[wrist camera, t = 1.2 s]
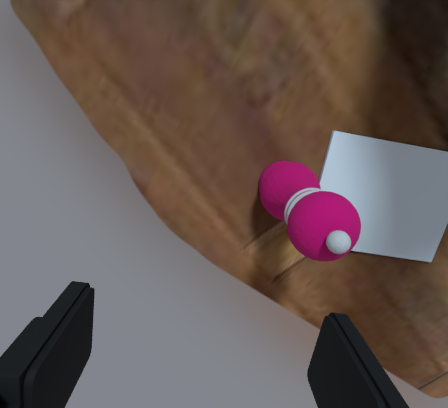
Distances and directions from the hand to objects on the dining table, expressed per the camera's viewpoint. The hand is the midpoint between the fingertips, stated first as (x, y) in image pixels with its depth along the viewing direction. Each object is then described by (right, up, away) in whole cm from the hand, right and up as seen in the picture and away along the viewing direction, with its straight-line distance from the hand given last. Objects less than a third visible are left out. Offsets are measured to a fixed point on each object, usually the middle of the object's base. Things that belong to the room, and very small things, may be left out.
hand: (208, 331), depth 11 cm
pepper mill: (+8, +8, +30) cm, 32 cm away
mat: (+23, +5, +31) cm, 39 cm away
